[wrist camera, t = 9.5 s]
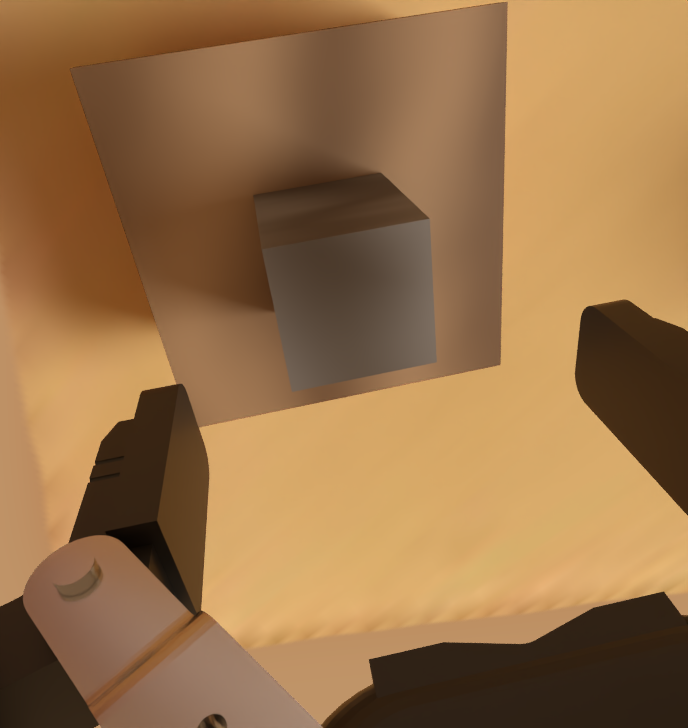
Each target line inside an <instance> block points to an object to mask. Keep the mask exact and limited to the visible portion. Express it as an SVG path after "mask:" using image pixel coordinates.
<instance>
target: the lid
mask: <svg viewBox="0 0 688 728" xmlns="http://www.w3.org/2000/svg"><path fill="white" fill-rule="evenodd" d="M507 4H508V2H502V3H493V4H487V5H480V6H473V7H467V8H460V9H454V10H447V11H441V12H434V13H427V14H421V15H414V16H408V17H401V18H395V19H388V20H381V21H375V22H368V23H362V24H355V25H349V26H342V27H336V28H329V29H322V30H316V31H309V32H303V33H296V34H290V35H283V36H276V37H270V38H263V39H257V40H250V41H244V42H237V43H230V44H224V45H217V46H211V47H204V48H198V49H191V50H185V51H178V52H171V53H165V54H158V55H152V56H145V57H139V58H132V59H125V60H119V61H112V62H106V63H99V64H93V65H86V66H79V67H74V68H71V69H70V71H71V74H72V77H73V80H74V83H75V86H76V89H77V92H78V95H79V98H80V101H81V104H82V107H83V110H84V113H85V116H86V119H87V122H88V124H89V127H90V130H91V133H92V136H93V139H94V142H95V145H96V148H97V151H98V154H99V157H100V160H101V163H102V166H103V169H104V172H105V175H106V178H107V181H108V184H109V186H110V189H111V192H112V195H113V198H114V201H115V204H116V207H117V210H118V213H119V216H120V219H121V222H122V225H123V228H124V231H125V234H126V237H127V240H128V243H129V245H130V248H131V251H132V254H133V257H134V260H135V263H136V266H137V269H138V272H139V275H140V278H141V281H142V284H143V287H144V290H145V293H146V296H147V299H148V302H149V304H150V307H151V310H152V313H153V316H154V319H155V322H156V325H157V328H158V331H159V334H160V337H161V340H162V343H163V346H164V349H165V352H166V355H167V358H168V361H169V363H170V366H171V369H172V372H173V375H174V378H175V381H176V384H183V386H184V387H185V389H186V391H187V394H188V397H189V400H190V403H191V406H192V409H193V412H194V415H195V418H196V421H197V424H198V427H203V426H208V425H213V424H217V423H222V422H227V421H232V420H237V419H242V418H246V417H251V416H256V415H261V414H266V413H271V412H275V411H280V410H285V409H290V408H295V407H299V406H304V405H309V404H314V403H319V402H324V401H328V400H333V399H338V398H343V397H348V396H353V395H357V394H362V393H367V392H372V391H377V390H382V389H386V388H391V387H396V386H401V385H406V384H410V383H415V382H420V381H425V380H430V379H435V378H439V377H444V376H449V375H454V374H459V373H464V372H468V371H473V370H478V369H483V368H488V367H493V366H497V365H500V358H501V307H502V256H503V206H504V155H505V105H506V54H507Z"/></svg>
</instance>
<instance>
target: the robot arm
mask: <svg viewBox="0 0 688 728" xmlns="http://www.w3.org/2000/svg"><path fill="white" fill-rule="evenodd" d="M575 379H576V385H577V389H578V391H579V394H580V396H581V398H582V399H583V401H584V402H585V403H586V404H587V406H588V407H589V408H590V409H591V410H592V411H593V412H594V413H595V414H596V415H597V416H598V418H599V419H600V420H601V421H602V422H603V423H604V424H605V425H606V426H607V427H608V429H609V430H610V431H611V432H612V433H613V434H614V435H615V436H616V437H617V438H618V440H619V441H620V442H621V443H622V444H623V445H624V446H625V447H626V448H627V449H628V450H629V452H630V453H631V454H632V455H633V456H634V457H635V458H636V459H637V460H638V461H639V463H640V464H641V465H642V466H643V467H644V468H645V469H646V470H647V471H648V472H649V474H650V475H651V476H652V477H653V478H654V479H655V480H656V481H657V482H658V483H659V485H660V486H661V487H662V488H663V489H664V490H665V491H666V492H667V493H668V494H669V495H670V497H671V498H672V499H673V500H674V501H675V502H676V503H677V504H678V505H679V506H680V508H681V509H682V510H683V511H684V512H685V513H686V514H687V515H688V331H686V330H685V329H683V328H681V327H678V326H676V325H673V324H670V323H667V322H665V321H662V320H659V319H656V318H653V317H651V316H650V315H648V314H647V313H646V312H644V311H643V310H641V309H640V308H639V307H637V306H636V305H634V304H633V303H632V302H630V301H628V300H619V301H614V302H609V303H603V304H598V305H593V306H588V307H586V308H585V309H584V311H583V313H582V316H581V321H580V331H579V340H578V350H577V359H576V369H575ZM95 464H96V465H95V466H93V469H92V472H91V475H90V478H89V479H90V483H88V485H87V488H86V491H85V494H84V497H83V500H82V503H81V506H80V509H79V512H78V516H77V519H76V522H75V525H74V528H73V531H72V534H71V537H70V540H69V543H68V544H66V545H64V546H63V547H61V548H59V549H58V550H56V551H55V552H53V553H52V554H51V555H49V556H48V557H47V558H46V559H45V560H44V561H43V562H42V563H41V564H40V565H39V566H38V567H37V568H36V569H35V571H34V572H33V574H32V575H31V576H30V578H29V580H28V582H27V584H26V586H25V589H24V594H23V595H22V596H21V597H19V598H17V599H15V600H13V601H11V602H9V603H7V604H5V605H3V606H0V728H94V727H96V726H98V725H100V726H101V728H688V615H681V614H680V613H679V611H678V610H677V609H676V607H675V606H674V605H673V604H672V602H671V601H670V599H669V598H668V597H667V595H666V594H665V593H664V592H660V593H656V594H651V595H647V596H643V597H638V598H634V599H630V600H625V601H621V602H617V603H613V604H608V605H604V606H599V607H595V608H593V609H591V610H589V611H587V612H585V613H583V614H582V615H580V616H578V617H576V618H574V619H573V620H571V621H569V622H567V623H565V624H564V625H562V626H560V627H558V628H556V629H555V630H553V631H551V632H549V633H548V634H546V635H544V636H542V637H540V638H539V639H537V640H535V641H533V642H531V643H526V644H491V643H490V644H489V643H446V642H443V643H439V644H435V645H430V646H426V647H422V648H417V649H413V650H408V651H404V652H400V653H396V654H391V655H387V656H382V657H378V658H374V659H369V663H370V668H371V674H372V679H373V684H372V685H370V686H368V687H367V688H365V689H363V690H362V691H360V692H358V693H356V694H355V695H354V696H352V697H351V698H350V699H348V700H347V701H345V702H344V703H343V704H342V705H341V706H339V707H338V708H337V709H336V710H335V711H334V712H333V713H332V714H331V715H330V716H329V717H328V718H327V719H326V720H325V721H324V723H323V724H322V725H320V724H319V723H318V722H317V721H316V720H315V719H314V718H313V717H312V716H311V715H310V714H309V713H308V712H307V711H306V710H305V709H304V708H303V707H302V706H301V705H300V704H299V703H298V702H297V701H296V700H295V699H294V698H293V697H292V696H291V695H290V694H289V693H288V692H287V691H286V690H285V689H284V688H283V687H282V686H281V685H279V684H278V682H277V681H276V680H274V678H273V677H272V676H271V675H270V674H269V673H268V672H267V671H266V670H264V668H263V667H261V665H259V663H258V662H256V661H255V659H253V658H252V656H251V655H250V654H249V653H248V652H247V651H246V650H244V649H243V648H242V647H241V646H240V645H239V644H238V643H237V642H236V641H235V640H234V639H233V638H232V637H231V636H230V635H229V634H228V633H227V632H226V631H225V630H224V629H223V628H222V627H221V626H220V625H219V624H218V623H217V622H216V621H215V620H214V619H213V618H212V617H211V616H210V615H208V614H207V613H205V612H203V611H201V602H202V586H203V570H204V553H205V537H206V521H207V505H208V489H209V465H208V458H207V453H206V449H205V445H204V442H203V439H202V436H201V433H200V430H199V427H198V424H197V421H196V418H195V415H194V412H193V409H192V406H191V403H190V400H189V397H188V394H187V391H186V389H185V387H184V386H183V384H176V385H171V386H165V387H160V388H155V389H150V390H145V391H142V392H141V394H140V398H139V402H138V406H137V409H136V413H135V417H134V419H131V420H126V421H121V422H118V423H117V424H116V425H115V426H114V428H113V429H112V430H111V431H110V432H109V433H108V435H107V436H106V437H105V438H104V439H103V440H102V441H101V444H100V448H99V451H98V454H97V457H96V460H95Z"/></svg>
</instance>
